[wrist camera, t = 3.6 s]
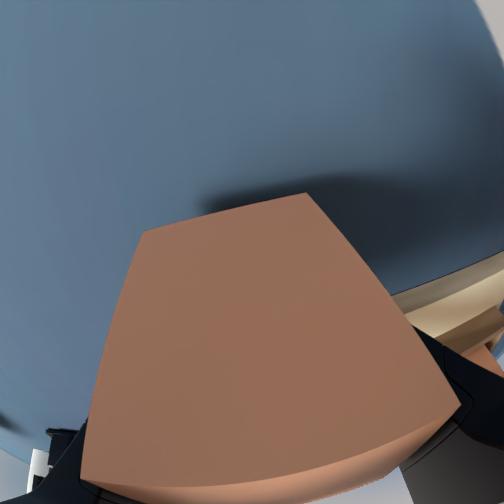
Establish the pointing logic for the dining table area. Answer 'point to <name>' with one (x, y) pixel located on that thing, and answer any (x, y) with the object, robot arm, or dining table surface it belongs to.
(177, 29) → the dining table surface
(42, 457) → the cylindrical container
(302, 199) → the loose block
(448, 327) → the socket board
